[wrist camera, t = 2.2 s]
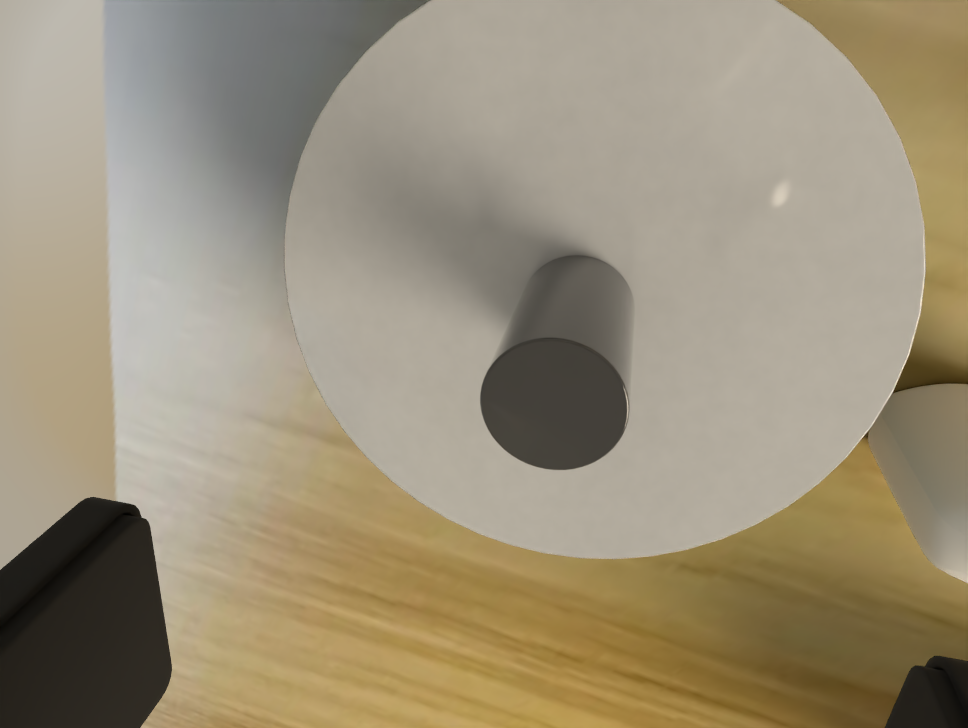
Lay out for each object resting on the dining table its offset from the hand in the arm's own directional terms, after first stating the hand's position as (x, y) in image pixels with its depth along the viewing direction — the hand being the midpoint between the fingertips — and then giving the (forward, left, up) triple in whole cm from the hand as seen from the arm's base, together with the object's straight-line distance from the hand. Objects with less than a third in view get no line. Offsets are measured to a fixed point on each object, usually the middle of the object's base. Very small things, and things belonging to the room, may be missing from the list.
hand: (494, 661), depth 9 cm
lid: (0, 0, -12) cm, 12 cm away
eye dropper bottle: (+6, +14, -21) cm, 26 cm away
